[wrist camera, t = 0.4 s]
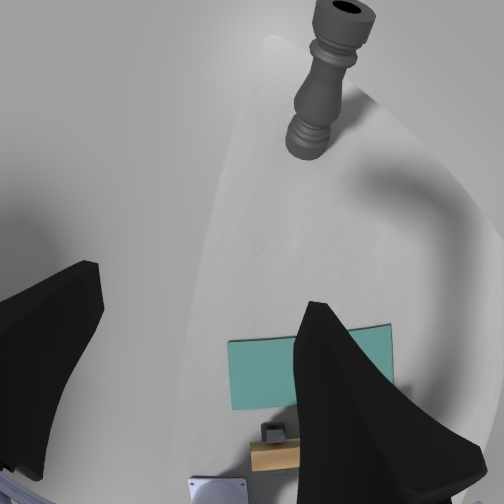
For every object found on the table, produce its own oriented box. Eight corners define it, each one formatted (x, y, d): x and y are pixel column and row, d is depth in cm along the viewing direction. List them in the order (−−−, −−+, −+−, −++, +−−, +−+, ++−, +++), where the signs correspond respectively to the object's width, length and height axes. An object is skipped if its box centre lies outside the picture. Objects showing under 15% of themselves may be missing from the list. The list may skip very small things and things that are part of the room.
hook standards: (368, 440, 33) (384, 454, 27) (263, 457, 32) (265, 476, 27) (369, 406, 34) (386, 416, 29) (260, 422, 34) (263, 437, 28)
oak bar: (388, 437, 30) (398, 444, 27) (251, 461, 29) (252, 471, 26) (389, 419, 30) (399, 425, 28) (250, 442, 30) (250, 451, 27)
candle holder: (308, 122, 44) (346, -9, 20) (332, 150, 43) (391, 21, 18) (277, 137, 43) (300, -4, 19) (301, 166, 42) (347, 26, 18)
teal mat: (391, 387, 35) (392, 387, 34) (232, 409, 34) (232, 410, 34) (389, 325, 37) (390, 325, 36) (227, 342, 36) (227, 342, 36)
